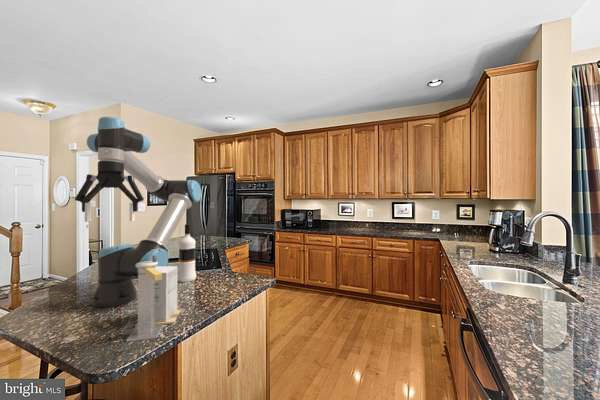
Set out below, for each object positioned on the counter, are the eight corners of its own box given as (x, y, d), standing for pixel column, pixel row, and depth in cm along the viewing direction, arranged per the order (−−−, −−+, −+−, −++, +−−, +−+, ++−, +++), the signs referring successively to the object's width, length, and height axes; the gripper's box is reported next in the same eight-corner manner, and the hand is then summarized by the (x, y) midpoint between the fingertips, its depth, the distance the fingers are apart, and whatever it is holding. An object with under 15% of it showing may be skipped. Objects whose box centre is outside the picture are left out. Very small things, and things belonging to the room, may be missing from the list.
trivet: (146, 312, 96) (146, 311, 96) (181, 309, 99) (181, 307, 99) (134, 327, 84) (134, 325, 84) (174, 323, 87) (174, 321, 87)
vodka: (185, 283, 131) (185, 225, 131) (173, 281, 135) (173, 224, 136) (200, 278, 139) (200, 223, 140) (188, 276, 143) (188, 223, 144)
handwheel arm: (146, 283, 69) (146, 265, 69) (133, 271, 81) (133, 256, 81) (170, 278, 73) (170, 262, 73) (154, 268, 85) (154, 254, 85)
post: (136, 328, 83) (137, 270, 84) (163, 325, 85) (164, 268, 86) (126, 341, 75) (127, 277, 76) (156, 338, 77) (156, 275, 78)
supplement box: (152, 310, 96) (153, 265, 96) (178, 310, 96) (178, 265, 97) (138, 322, 86) (138, 272, 87) (166, 321, 87) (166, 272, 87)
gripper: (62, 158, 84) (61, 222, 84) (146, 161, 90) (146, 221, 90) (76, 162, 91) (75, 221, 91) (153, 164, 98) (152, 219, 97)
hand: (110, 221), depth 91 cm, fingers open, 13 cm apart
